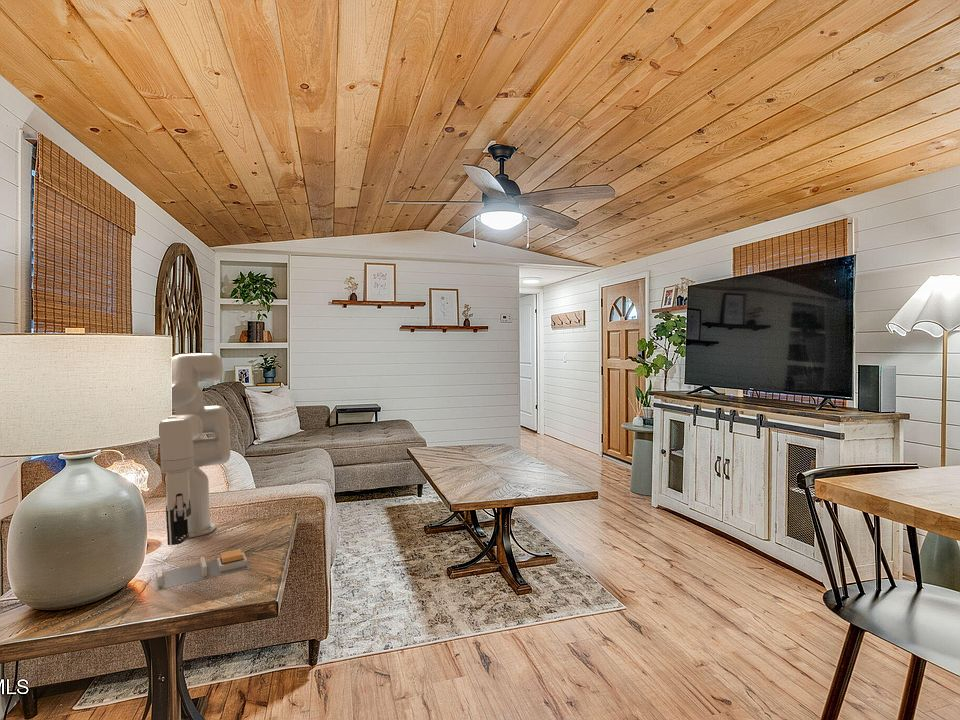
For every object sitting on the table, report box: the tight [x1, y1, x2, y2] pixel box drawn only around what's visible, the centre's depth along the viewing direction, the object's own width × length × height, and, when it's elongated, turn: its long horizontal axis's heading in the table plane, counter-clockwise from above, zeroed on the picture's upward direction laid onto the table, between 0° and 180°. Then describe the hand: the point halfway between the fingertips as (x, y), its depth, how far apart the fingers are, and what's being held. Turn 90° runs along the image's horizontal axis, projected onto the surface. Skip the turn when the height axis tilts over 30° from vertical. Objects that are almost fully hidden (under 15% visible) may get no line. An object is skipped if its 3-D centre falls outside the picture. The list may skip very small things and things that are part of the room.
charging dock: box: [155, 551, 252, 591], centre depth 139 cm, size 12×22×4 cm, turn 122°
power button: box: [220, 548, 243, 563], centre depth 142 cm, size 5×5×1 cm
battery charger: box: [165, 497, 191, 547], centre depth 135 cm, size 7×4×11 cm, turn 7°
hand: (180, 530), depth 136 cm, fingers closed on battery charger, 7 cm apart
